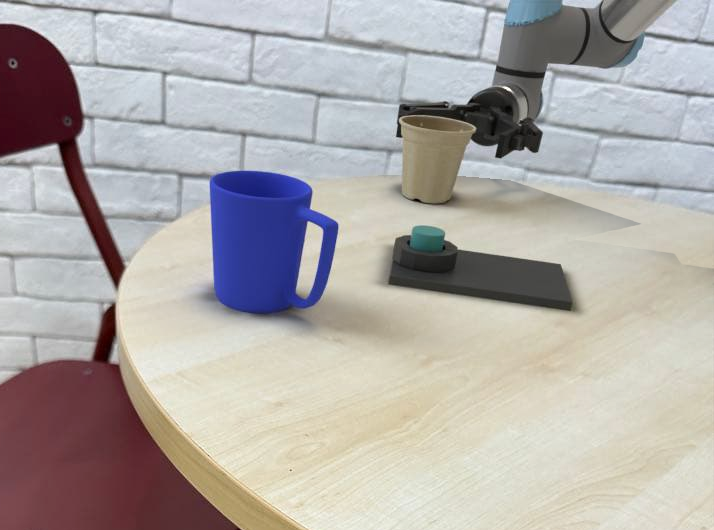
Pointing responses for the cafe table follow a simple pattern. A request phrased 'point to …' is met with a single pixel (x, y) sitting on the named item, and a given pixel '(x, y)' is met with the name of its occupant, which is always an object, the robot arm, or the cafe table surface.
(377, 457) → the cafe table surface
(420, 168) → the flower pot
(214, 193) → the mug
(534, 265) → the dark grey piece
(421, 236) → the button
